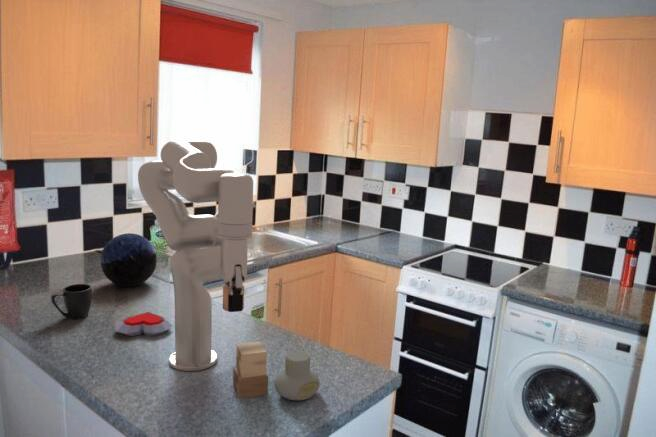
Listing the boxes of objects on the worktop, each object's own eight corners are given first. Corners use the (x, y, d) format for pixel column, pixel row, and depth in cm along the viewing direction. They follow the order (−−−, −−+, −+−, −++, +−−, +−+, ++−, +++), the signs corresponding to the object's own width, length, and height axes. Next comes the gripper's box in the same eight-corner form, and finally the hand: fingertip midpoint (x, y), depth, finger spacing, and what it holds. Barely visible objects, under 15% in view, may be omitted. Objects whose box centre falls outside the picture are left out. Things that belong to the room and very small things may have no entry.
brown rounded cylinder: (221, 304, 123) (221, 284, 122) (242, 303, 124) (242, 283, 123) (224, 312, 118) (224, 291, 117) (245, 310, 120) (245, 289, 119)
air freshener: (302, 381, 136) (304, 344, 134) (324, 394, 130) (326, 356, 128) (268, 394, 128) (269, 356, 126) (289, 409, 122) (291, 369, 120)
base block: (233, 385, 132) (233, 366, 131) (260, 381, 135) (260, 363, 134) (239, 399, 126) (239, 379, 125) (267, 394, 128) (268, 375, 127)
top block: (236, 366, 131) (236, 344, 130) (259, 363, 133) (260, 341, 132) (241, 378, 126) (241, 354, 124) (266, 374, 128) (266, 351, 127)
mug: (47, 318, 167) (45, 289, 165) (86, 309, 176) (84, 282, 174) (57, 326, 162) (56, 296, 160) (97, 316, 170) (95, 288, 169)
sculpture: (121, 320, 169) (110, 339, 154) (121, 309, 168) (109, 327, 154) (176, 319, 172) (170, 338, 157) (176, 308, 171) (169, 327, 156)
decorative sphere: (130, 274, 215) (129, 226, 211) (168, 283, 206) (167, 233, 203) (89, 287, 197) (87, 235, 193) (129, 297, 189) (127, 243, 185)
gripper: (213, 221, 124) (212, 294, 128) (223, 239, 109) (221, 322, 112) (245, 220, 127) (243, 293, 130) (259, 238, 111) (256, 319, 115)
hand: (233, 305), depth 121 cm, fingers closed on brown rounded cylinder, 4 cm apart
